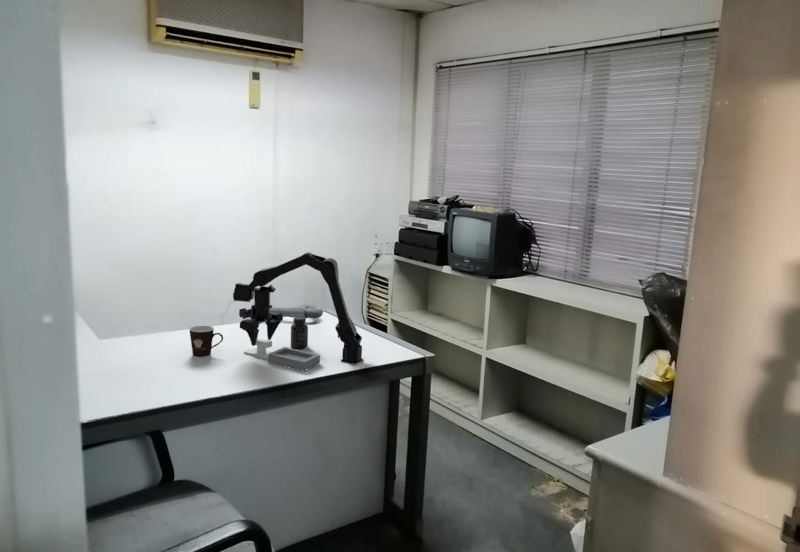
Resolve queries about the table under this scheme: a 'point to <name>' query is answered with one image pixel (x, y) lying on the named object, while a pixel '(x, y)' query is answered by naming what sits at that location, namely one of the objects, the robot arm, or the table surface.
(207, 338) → the coffee mug
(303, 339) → the supplement bottle
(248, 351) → the cover
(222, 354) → the table surface
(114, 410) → the table surface
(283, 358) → the case
